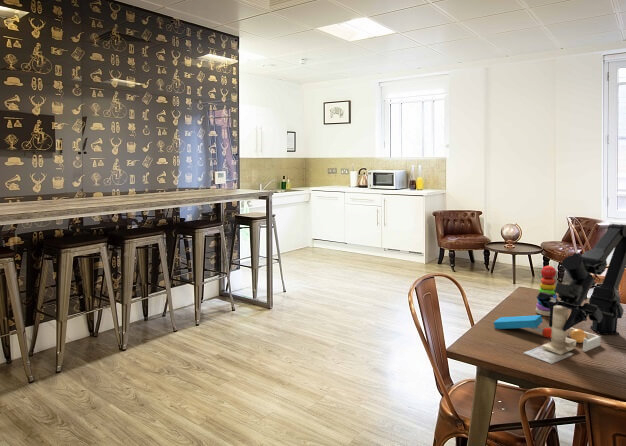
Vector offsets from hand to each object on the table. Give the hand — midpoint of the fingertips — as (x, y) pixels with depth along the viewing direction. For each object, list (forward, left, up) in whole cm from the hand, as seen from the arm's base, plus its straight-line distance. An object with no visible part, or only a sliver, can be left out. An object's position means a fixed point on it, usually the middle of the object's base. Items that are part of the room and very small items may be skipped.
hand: (556, 328), depth 150 cm
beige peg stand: (-2, -1, -7) cm, 7 cm away
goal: (-10, -7, -8) cm, 14 cm away
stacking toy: (-15, -36, -8) cm, 40 cm away
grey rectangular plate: (+4, +3, -8) cm, 9 cm away
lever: (+2, -17, -8) cm, 19 cm away
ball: (-11, -7, -5) cm, 14 cm away
